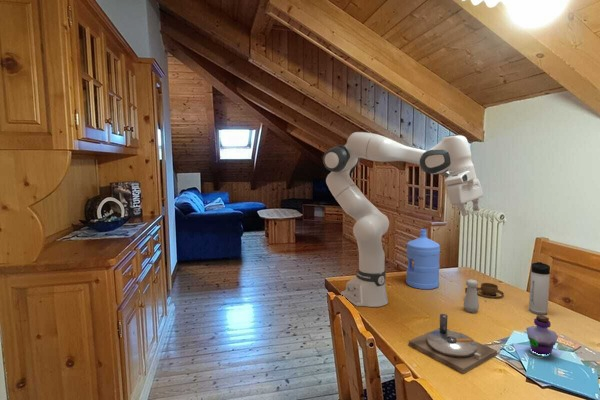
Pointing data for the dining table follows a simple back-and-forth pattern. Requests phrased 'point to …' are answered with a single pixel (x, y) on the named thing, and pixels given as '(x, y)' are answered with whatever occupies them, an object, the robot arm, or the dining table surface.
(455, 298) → the dining table surface
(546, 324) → the potion bottle
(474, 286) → the salt shaker
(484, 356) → the stand
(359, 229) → the robot arm
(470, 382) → the dining table surface
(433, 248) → the water jug
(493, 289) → the brown cup and saucer
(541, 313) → the travel mug
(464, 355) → the dial
